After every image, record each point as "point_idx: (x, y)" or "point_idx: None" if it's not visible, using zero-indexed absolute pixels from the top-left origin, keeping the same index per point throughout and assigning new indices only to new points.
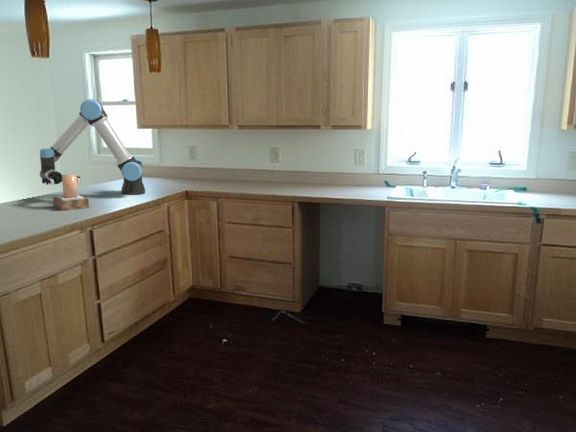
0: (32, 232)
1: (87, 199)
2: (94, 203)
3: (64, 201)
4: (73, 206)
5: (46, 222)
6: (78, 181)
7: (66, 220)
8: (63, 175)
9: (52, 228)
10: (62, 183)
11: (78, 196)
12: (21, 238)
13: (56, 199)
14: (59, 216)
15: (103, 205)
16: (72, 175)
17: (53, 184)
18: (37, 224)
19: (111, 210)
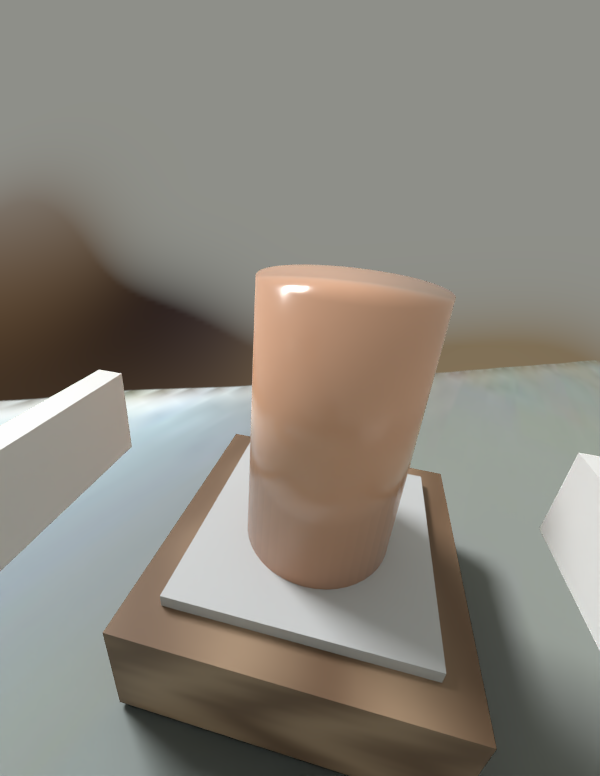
0: (559, 374)
1: (242, 438)
2: (16, 614)
3: (413, 471)
4: None
5: (523, 414)
6: (127, 423)
7: (447, 398)
8: (432, 294)
9: (503, 372)
10: (423, 414)
11: (243, 502)
12: (579, 362)
13: (460, 582)
14: (462, 446)
15: (95, 496)
16: (326, 271)
17: (555, 523)
18: (556, 412)
19: (208, 402)
